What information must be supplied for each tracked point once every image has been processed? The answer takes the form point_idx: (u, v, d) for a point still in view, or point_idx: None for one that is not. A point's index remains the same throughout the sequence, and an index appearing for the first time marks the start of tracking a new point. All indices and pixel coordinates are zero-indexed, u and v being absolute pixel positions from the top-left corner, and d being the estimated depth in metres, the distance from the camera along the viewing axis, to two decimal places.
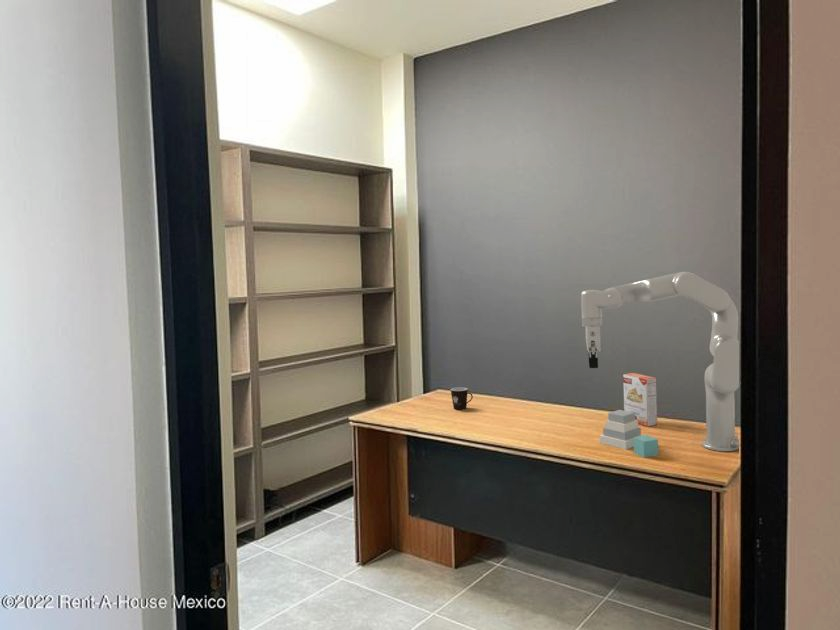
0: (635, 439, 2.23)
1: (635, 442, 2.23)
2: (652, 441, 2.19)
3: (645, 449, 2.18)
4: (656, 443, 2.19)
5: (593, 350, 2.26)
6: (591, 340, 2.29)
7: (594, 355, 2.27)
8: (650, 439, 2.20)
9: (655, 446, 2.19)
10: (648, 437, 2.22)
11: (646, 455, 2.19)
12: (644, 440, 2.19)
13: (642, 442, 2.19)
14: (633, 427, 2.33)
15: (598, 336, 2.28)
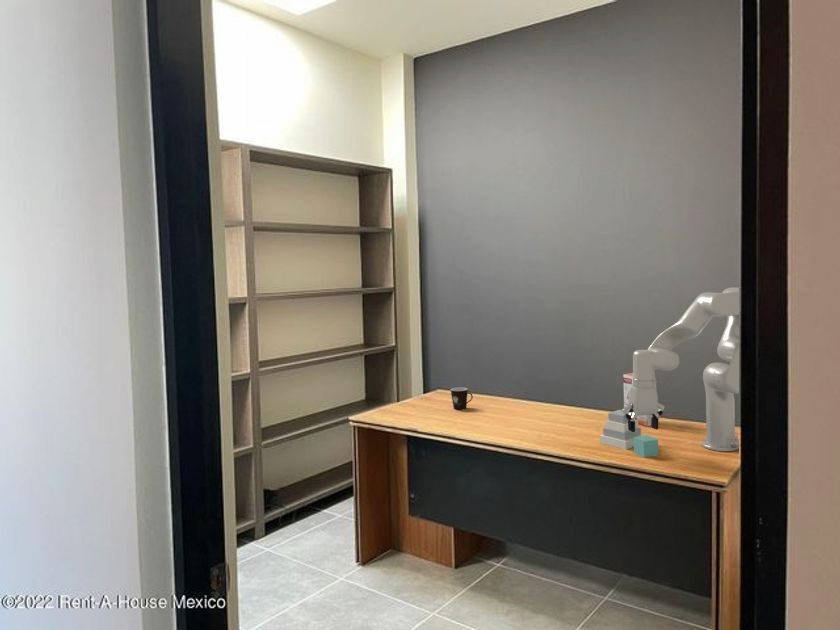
0: (635, 439, 2.23)
1: (635, 442, 2.23)
2: (652, 441, 2.19)
3: (645, 449, 2.18)
4: (656, 443, 2.19)
5: None
6: None
7: None
8: (650, 439, 2.20)
9: (655, 446, 2.19)
10: (648, 437, 2.22)
11: (646, 455, 2.19)
12: (644, 440, 2.19)
13: (642, 442, 2.19)
14: None
15: None
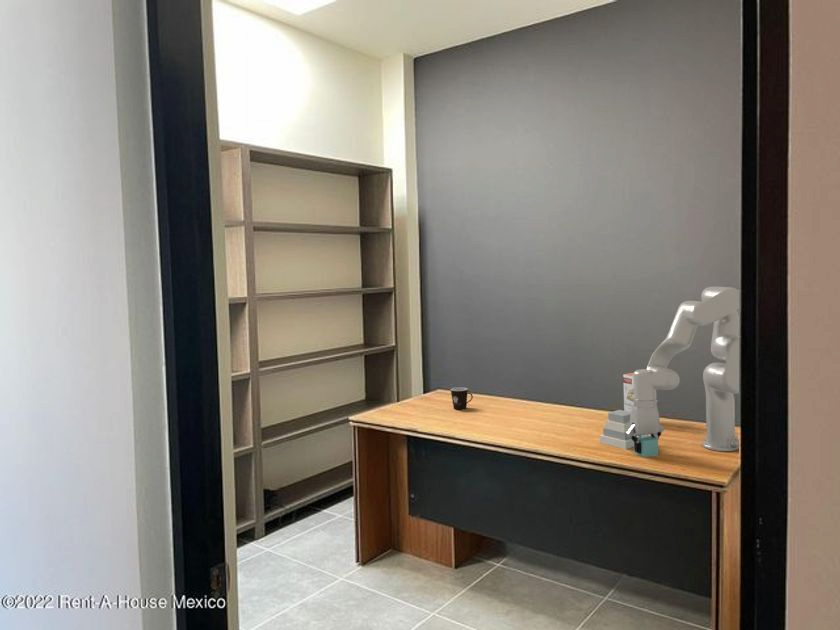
0: None
1: None
2: (652, 441, 2.19)
3: (645, 449, 2.18)
4: (656, 443, 2.19)
5: None
6: None
7: None
8: (650, 439, 2.20)
9: (655, 446, 2.19)
10: (648, 437, 2.22)
11: (646, 455, 2.19)
12: (644, 440, 2.19)
13: (642, 442, 2.19)
14: None
15: None
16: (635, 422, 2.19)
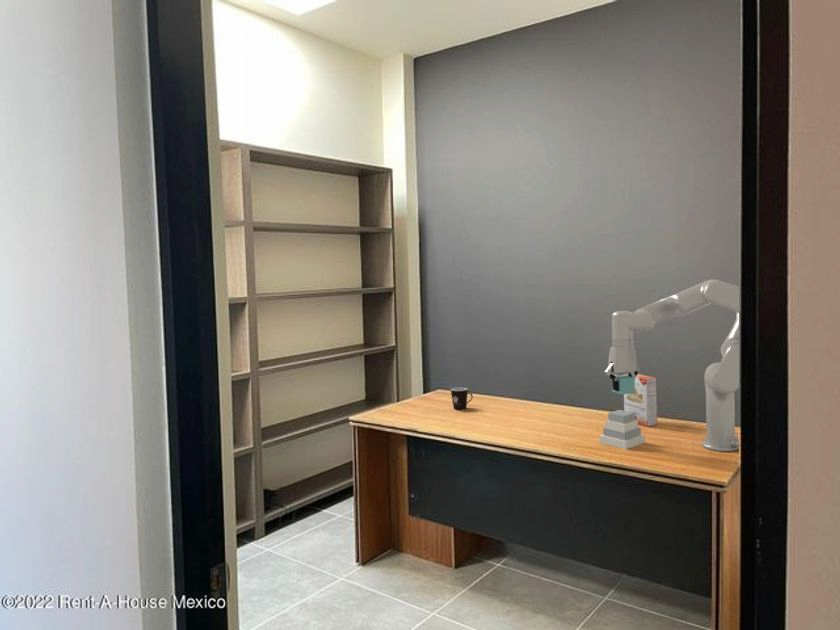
0: None
1: None
2: (629, 379, 2.29)
3: (623, 386, 2.29)
4: (633, 381, 2.30)
5: None
6: None
7: None
8: (628, 377, 2.30)
9: (632, 384, 2.30)
10: (625, 376, 2.33)
11: (623, 392, 2.29)
12: (622, 378, 2.29)
13: (620, 380, 2.29)
14: (633, 427, 2.33)
15: None
16: (613, 361, 2.29)
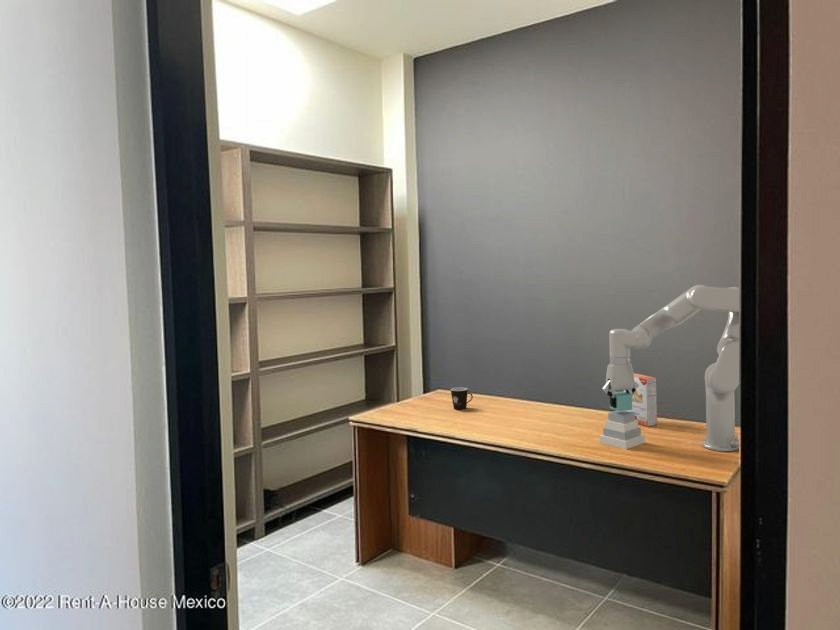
0: None
1: None
2: (626, 396, 2.32)
3: (620, 403, 2.31)
4: (630, 398, 2.33)
5: None
6: None
7: None
8: (625, 394, 2.33)
9: (629, 401, 2.33)
10: (623, 393, 2.35)
11: (621, 409, 2.32)
12: (619, 395, 2.32)
13: (617, 397, 2.32)
14: (633, 427, 2.33)
15: None
16: (610, 378, 2.32)
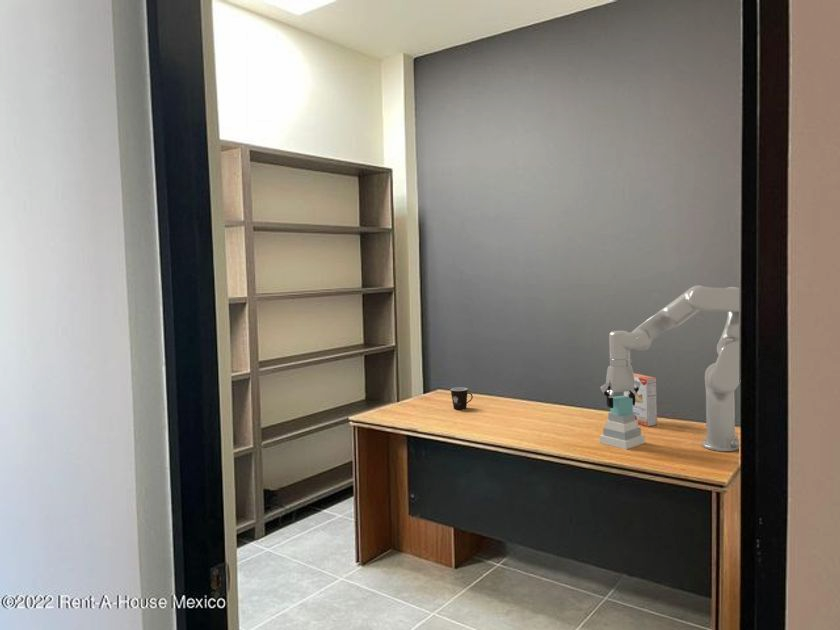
0: None
1: None
2: (627, 400, 2.32)
3: (620, 407, 2.32)
4: (631, 402, 2.33)
5: None
6: None
7: None
8: (625, 398, 2.33)
9: (630, 405, 2.33)
10: (623, 397, 2.36)
11: (621, 413, 2.32)
12: (619, 399, 2.32)
13: (617, 401, 2.32)
14: (633, 427, 2.33)
15: None
16: (611, 380, 2.32)
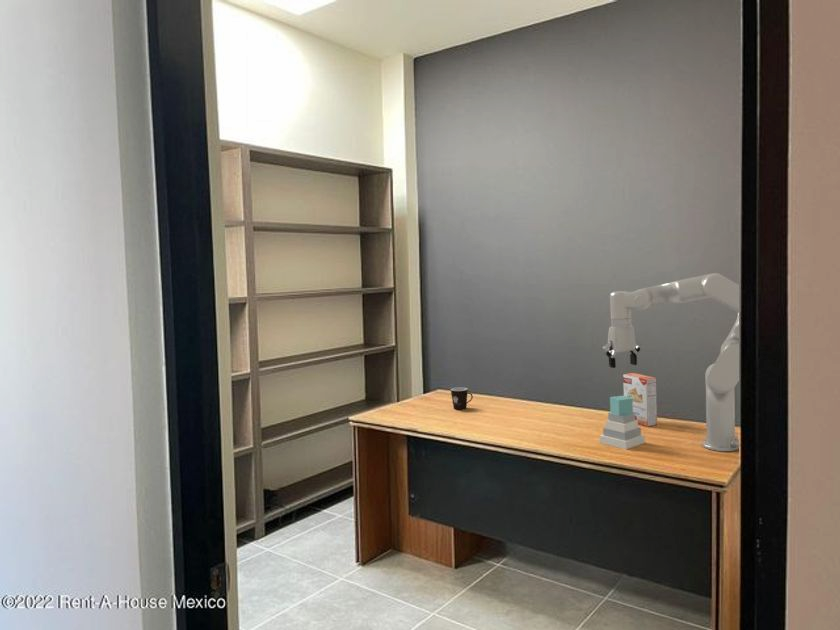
0: (611, 399, 2.36)
1: (611, 401, 2.36)
2: (627, 400, 2.32)
3: (620, 407, 2.32)
4: (631, 402, 2.33)
5: None
6: None
7: None
8: (625, 398, 2.33)
9: (630, 405, 2.33)
10: (623, 397, 2.36)
11: (621, 413, 2.32)
12: (619, 399, 2.32)
13: (617, 401, 2.32)
14: (633, 427, 2.33)
15: None
16: (613, 340, 2.33)
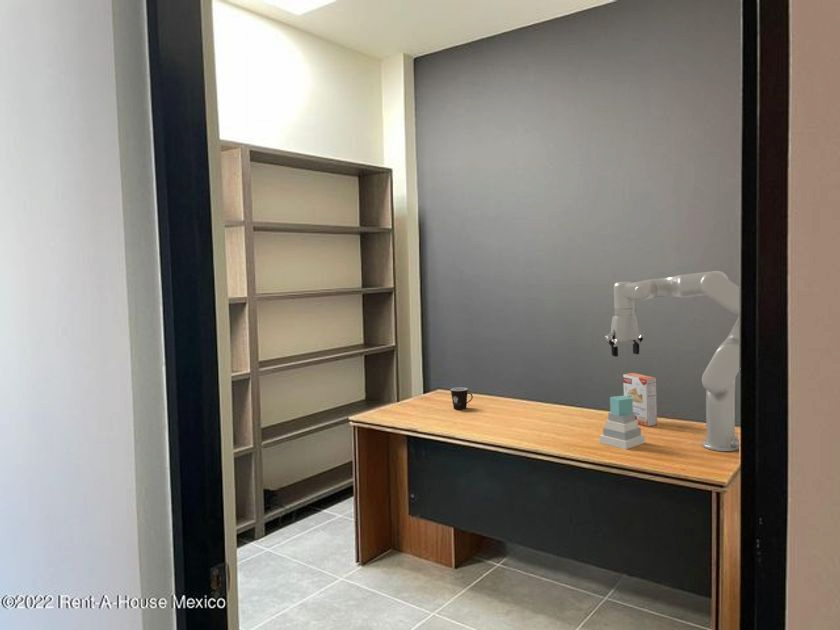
0: (611, 399, 2.36)
1: (611, 401, 2.36)
2: (627, 400, 2.32)
3: (620, 407, 2.32)
4: (631, 402, 2.33)
5: None
6: None
7: None
8: (625, 398, 2.33)
9: (630, 405, 2.33)
10: (623, 397, 2.36)
11: (621, 413, 2.32)
12: (619, 399, 2.32)
13: (617, 401, 2.32)
14: (633, 427, 2.33)
15: None
16: (615, 329, 2.39)
